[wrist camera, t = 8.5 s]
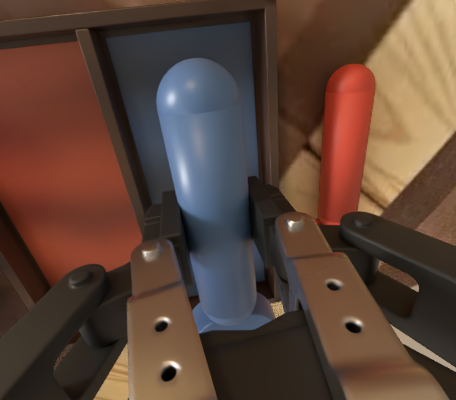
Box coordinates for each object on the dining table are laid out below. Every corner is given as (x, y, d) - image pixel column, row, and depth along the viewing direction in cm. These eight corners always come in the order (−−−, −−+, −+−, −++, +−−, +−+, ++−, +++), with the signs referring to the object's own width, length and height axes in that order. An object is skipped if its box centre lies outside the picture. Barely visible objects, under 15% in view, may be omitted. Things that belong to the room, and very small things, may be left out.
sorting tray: (-103, 39, 13) (-161, 36, 11) (260, 1, 15) (276, -9, 13) (69, 323, 23) (57, 352, 21) (271, 279, 25) (281, 301, 23)
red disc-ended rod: (300, 68, 17) (322, 70, 14) (377, 58, 17) (410, 58, 15) (296, 268, 25) (309, 291, 23) (348, 256, 26) (367, 277, 23)
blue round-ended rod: (114, 66, 9) (94, 70, 7) (260, 48, 10) (290, 46, 7) (194, 356, 17) (198, 404, 15) (272, 336, 18) (288, 380, 16)
